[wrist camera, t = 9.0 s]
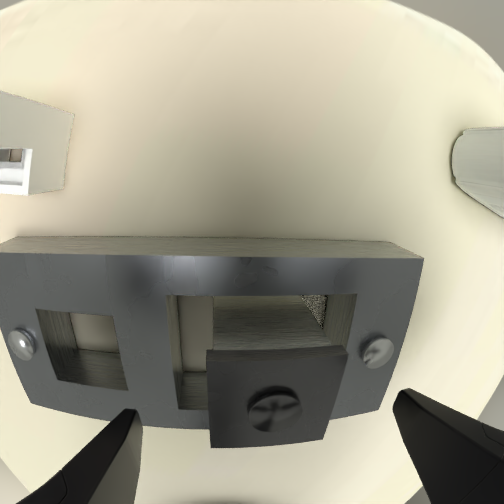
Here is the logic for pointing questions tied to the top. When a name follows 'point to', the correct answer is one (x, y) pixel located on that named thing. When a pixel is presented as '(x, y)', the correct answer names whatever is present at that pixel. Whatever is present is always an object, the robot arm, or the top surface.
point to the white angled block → (32, 145)
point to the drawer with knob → (270, 373)
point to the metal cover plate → (166, 315)
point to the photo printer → (481, 166)
